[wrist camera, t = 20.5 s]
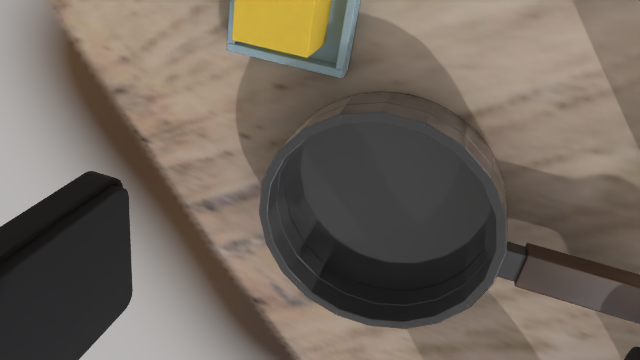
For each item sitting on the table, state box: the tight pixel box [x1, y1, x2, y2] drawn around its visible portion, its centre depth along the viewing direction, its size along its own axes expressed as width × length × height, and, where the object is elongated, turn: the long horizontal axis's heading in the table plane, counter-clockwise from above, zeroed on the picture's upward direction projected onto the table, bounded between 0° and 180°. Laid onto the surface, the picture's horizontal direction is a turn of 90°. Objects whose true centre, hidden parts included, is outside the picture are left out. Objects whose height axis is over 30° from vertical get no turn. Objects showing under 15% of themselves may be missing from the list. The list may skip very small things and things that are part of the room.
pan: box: [259, 92, 507, 329], centre depth 33 cm, size 15×15×4 cm
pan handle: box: [497, 242, 640, 324], centre depth 30 cm, size 2×10×1 cm, turn 82°
